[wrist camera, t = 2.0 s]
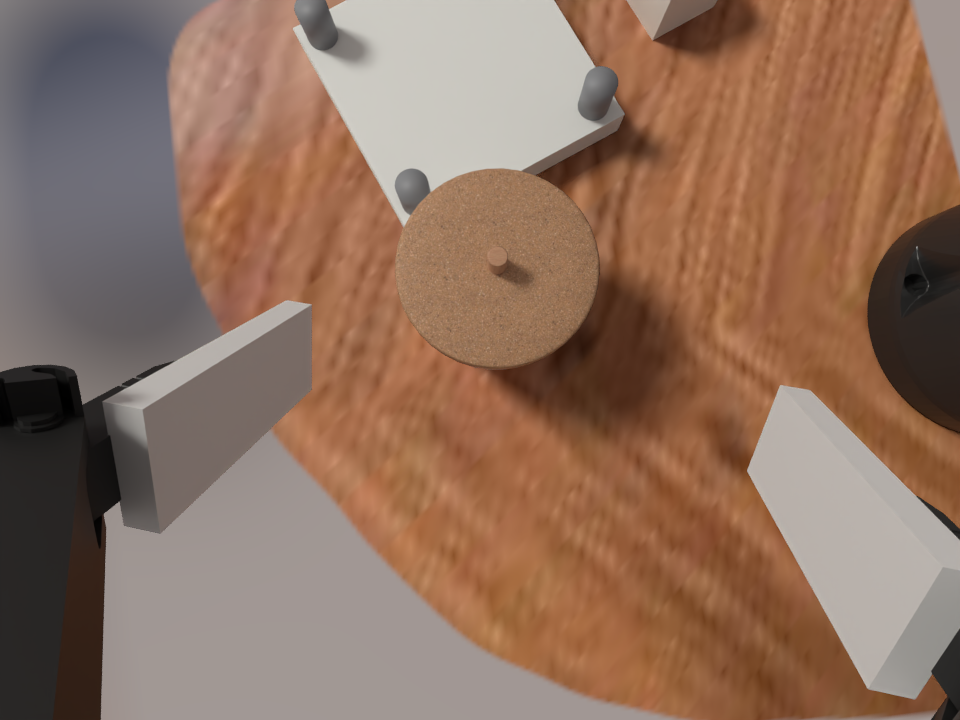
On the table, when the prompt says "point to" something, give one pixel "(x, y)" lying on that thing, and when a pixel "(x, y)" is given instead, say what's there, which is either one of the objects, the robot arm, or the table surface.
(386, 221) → the table surface
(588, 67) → the grey stand
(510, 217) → the lidded jar
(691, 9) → the plain off-white block
